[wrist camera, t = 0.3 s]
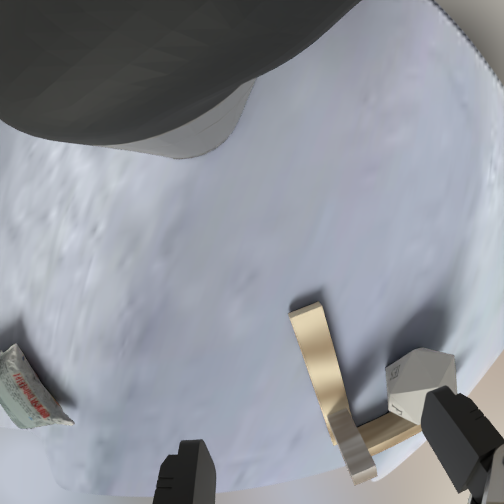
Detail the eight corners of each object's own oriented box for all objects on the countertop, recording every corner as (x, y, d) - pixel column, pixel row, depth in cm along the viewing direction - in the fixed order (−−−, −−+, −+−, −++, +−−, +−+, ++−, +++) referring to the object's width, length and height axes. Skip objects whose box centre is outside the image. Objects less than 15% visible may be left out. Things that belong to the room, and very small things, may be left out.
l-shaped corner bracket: (287, 313, 29) (318, 379, 19) (440, 248, 29) (507, 279, 19) (333, 446, 35) (357, 504, 25) (445, 391, 35) (484, 434, 25)
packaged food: (25, 332, 27) (3, 356, 22) (80, 414, 30) (67, 442, 26) (-15, 347, 27) (-35, 367, 23) (36, 420, 31) (22, 443, 26)
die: (386, 329, 32) (378, 413, 25) (461, 325, 28) (466, 410, 21) (386, 363, 36) (378, 434, 30) (450, 361, 33) (449, 433, 26)
